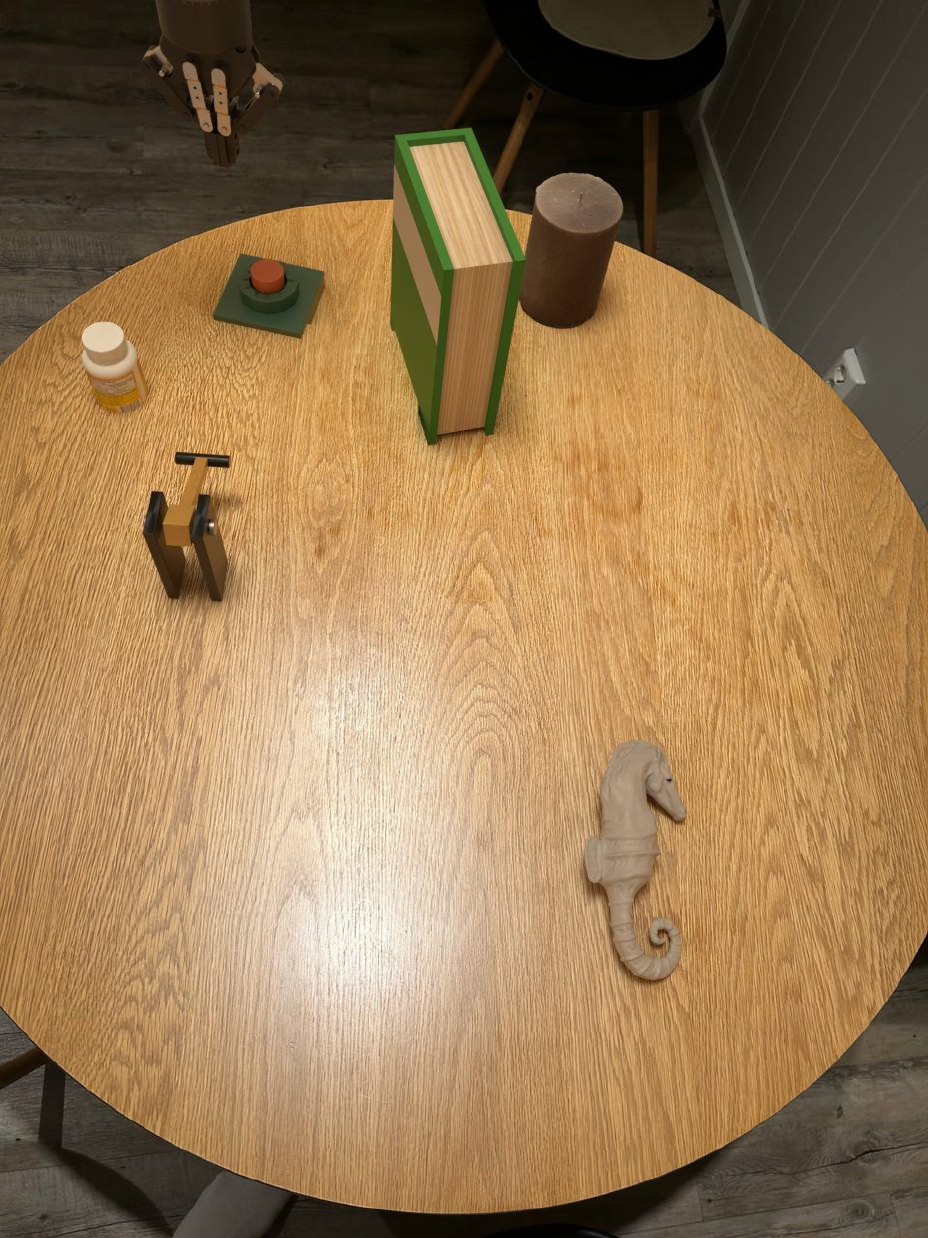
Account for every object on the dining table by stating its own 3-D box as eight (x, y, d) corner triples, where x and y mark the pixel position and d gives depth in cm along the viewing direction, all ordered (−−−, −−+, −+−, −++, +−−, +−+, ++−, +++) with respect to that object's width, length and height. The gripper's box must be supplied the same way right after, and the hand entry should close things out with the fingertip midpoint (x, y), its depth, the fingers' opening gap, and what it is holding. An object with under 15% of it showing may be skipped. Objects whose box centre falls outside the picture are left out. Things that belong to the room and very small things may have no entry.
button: (248, 290, 104) (246, 278, 102) (257, 267, 106) (255, 255, 104) (279, 297, 104) (278, 285, 102) (288, 274, 106) (287, 262, 104)
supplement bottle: (136, 427, 99) (114, 364, 90) (89, 412, 99) (63, 347, 90) (159, 390, 101) (140, 325, 93) (113, 375, 101) (90, 309, 93)
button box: (215, 328, 106) (210, 302, 102) (242, 267, 110) (238, 240, 107) (301, 347, 106) (299, 321, 102) (325, 285, 110) (323, 258, 107)
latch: (178, 464, 89) (175, 443, 88) (231, 468, 90) (229, 447, 88) (149, 544, 81) (145, 522, 79) (208, 548, 81) (205, 526, 79)
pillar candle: (589, 336, 110) (619, 232, 97) (509, 316, 111) (528, 210, 97) (603, 279, 115) (633, 172, 102) (525, 260, 115) (546, 151, 102)
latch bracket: (167, 540, 93) (139, 462, 82) (249, 545, 93) (232, 469, 82) (149, 630, 88) (117, 561, 77) (235, 635, 89) (216, 567, 78)
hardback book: (493, 434, 102) (526, 259, 81) (428, 444, 101) (443, 270, 80) (451, 315, 110) (471, 127, 89) (390, 324, 108) (394, 135, 87)
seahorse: (739, 964, 78) (684, 730, 84) (629, 990, 73) (578, 738, 79) (699, 966, 82) (649, 743, 88) (592, 991, 77) (546, 751, 83)
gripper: (100, -23, 73) (144, 172, 88) (265, 14, 73) (281, 202, 89) (134, -73, 77) (171, 122, 92) (292, -38, 77) (302, 152, 92)
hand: (225, 161), depth 90 cm, fingers closed
